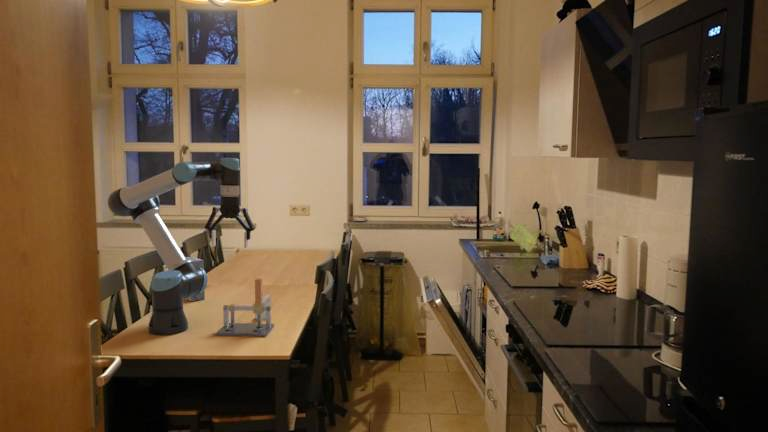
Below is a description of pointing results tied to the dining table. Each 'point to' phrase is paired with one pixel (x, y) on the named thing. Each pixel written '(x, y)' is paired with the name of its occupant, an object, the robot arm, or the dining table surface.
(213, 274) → the dining table surface
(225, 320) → the grey bracket frame
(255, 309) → the sliding leg
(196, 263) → the hard drive box
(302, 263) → the dining table surface
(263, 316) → the white wedge bracket
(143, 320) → the dining table surface
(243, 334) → the bolt plate
